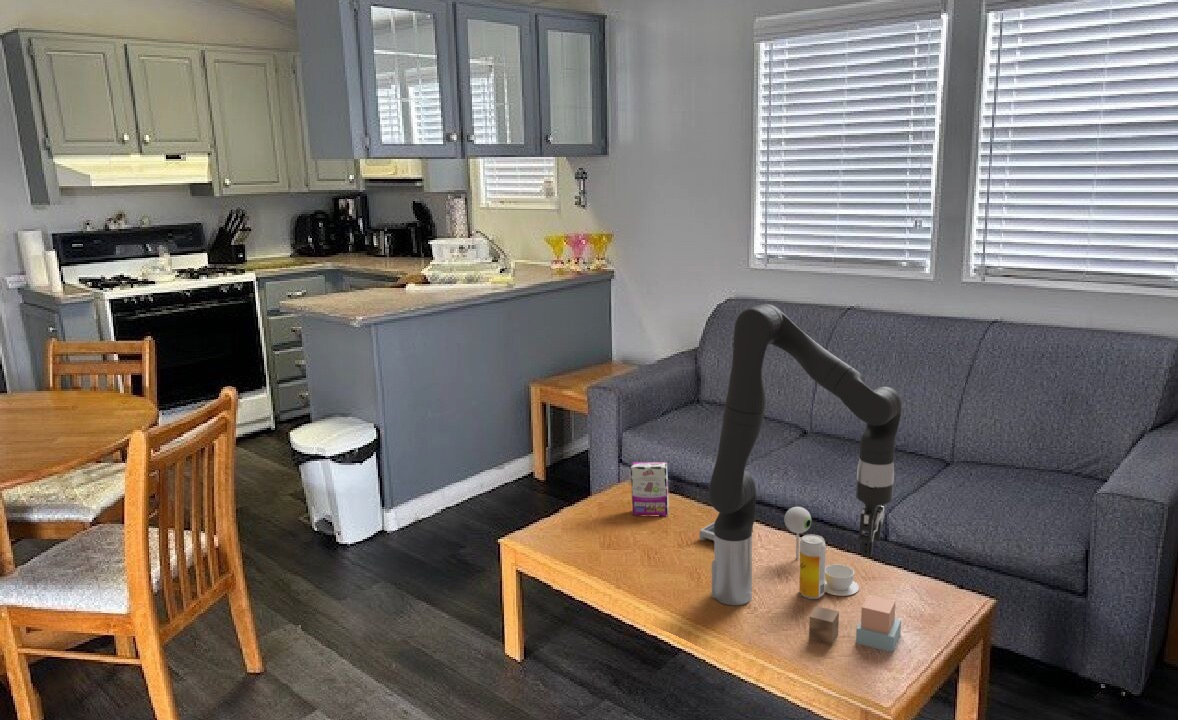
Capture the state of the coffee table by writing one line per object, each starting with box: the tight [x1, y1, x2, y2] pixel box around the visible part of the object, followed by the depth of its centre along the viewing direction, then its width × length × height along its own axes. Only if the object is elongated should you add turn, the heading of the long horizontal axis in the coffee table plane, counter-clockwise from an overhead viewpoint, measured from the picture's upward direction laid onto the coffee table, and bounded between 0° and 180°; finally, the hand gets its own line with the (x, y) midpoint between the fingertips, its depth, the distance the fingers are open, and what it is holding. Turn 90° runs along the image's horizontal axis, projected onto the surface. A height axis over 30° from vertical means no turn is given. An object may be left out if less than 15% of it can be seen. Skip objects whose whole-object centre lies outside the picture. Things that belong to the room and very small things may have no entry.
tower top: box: [860, 594, 896, 634], centre depth 186 cm, size 6×6×5 cm
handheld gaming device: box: [699, 521, 754, 542], centre depth 242 cm, size 9×15×4 cm, turn 136°
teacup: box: [824, 563, 860, 597], centre depth 210 cm, size 10×10×5 cm
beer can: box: [798, 533, 826, 600], centre depth 206 cm, size 6×6×15 cm
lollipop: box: [783, 506, 812, 560], centre depth 225 cm, size 7×7×15 cm
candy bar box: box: [630, 461, 670, 517], centre depth 259 cm, size 11×5×16 cm, turn 81°
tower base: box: [855, 618, 902, 653], centre depth 187 cm, size 8×8×4 cm
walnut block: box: [808, 605, 840, 647], centre depth 188 cm, size 5×5×6 cm
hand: (870, 547), depth 183 cm, fingers open, 8 cm apart
